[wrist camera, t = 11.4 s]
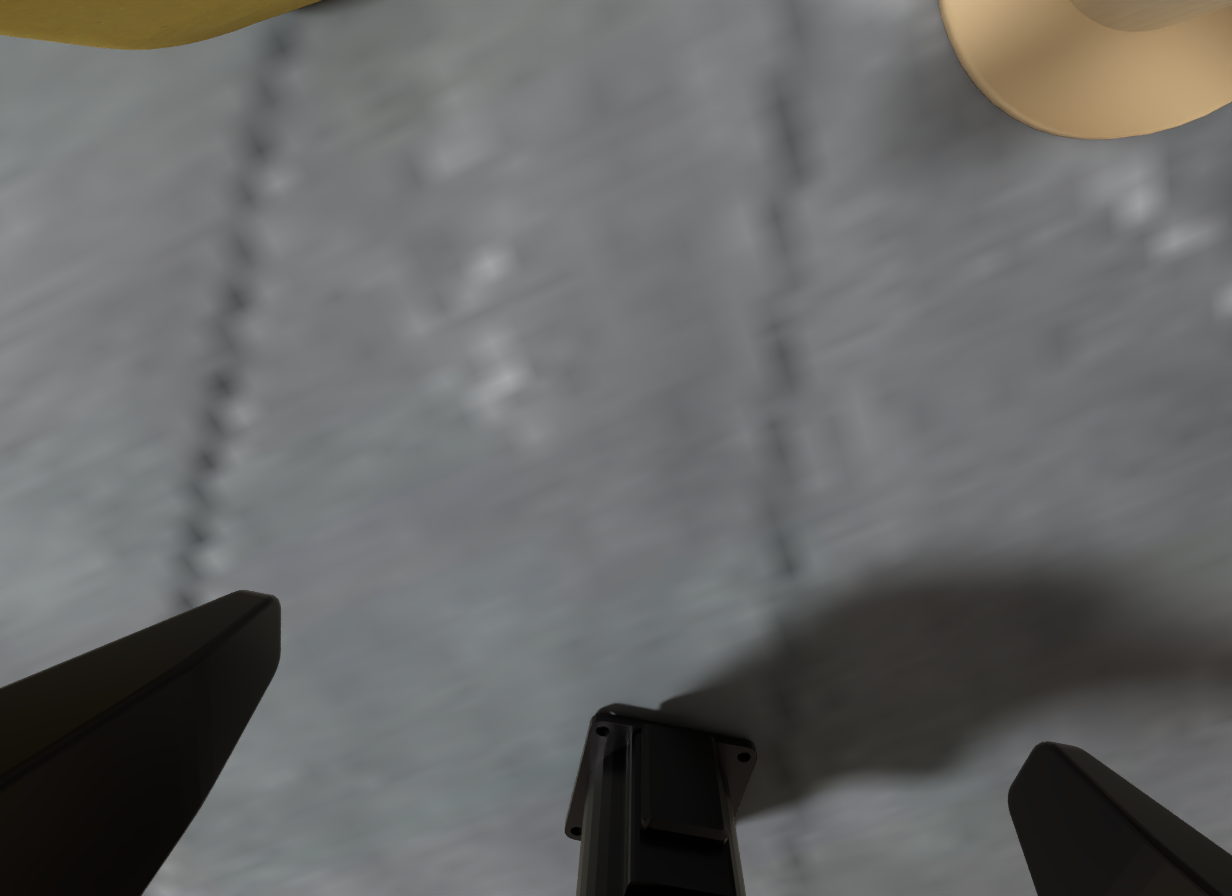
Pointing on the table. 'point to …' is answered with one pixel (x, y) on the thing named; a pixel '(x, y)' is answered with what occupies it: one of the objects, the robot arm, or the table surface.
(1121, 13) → the cream glossy rounded body
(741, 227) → the table surface
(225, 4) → the flower pot
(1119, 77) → the cork coaster
